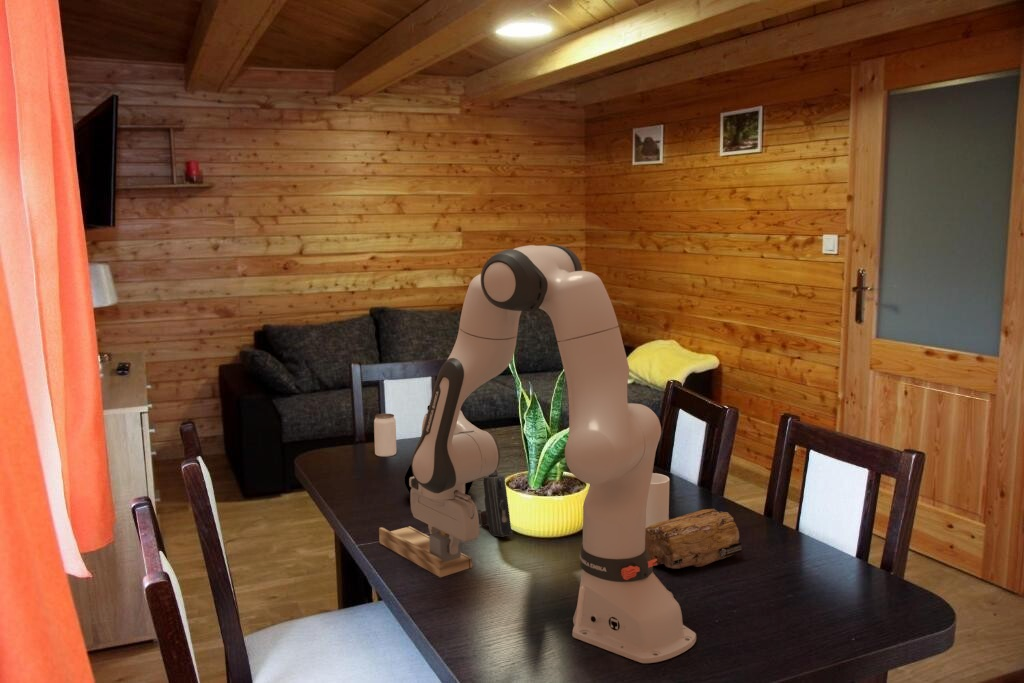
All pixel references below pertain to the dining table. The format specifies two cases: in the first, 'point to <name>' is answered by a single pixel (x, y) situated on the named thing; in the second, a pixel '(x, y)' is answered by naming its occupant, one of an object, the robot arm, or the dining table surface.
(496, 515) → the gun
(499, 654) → the dining table surface
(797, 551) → the dining table surface
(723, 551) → the petrified wood
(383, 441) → the can
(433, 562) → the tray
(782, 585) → the dining table surface
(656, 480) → the mug
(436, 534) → the cube
